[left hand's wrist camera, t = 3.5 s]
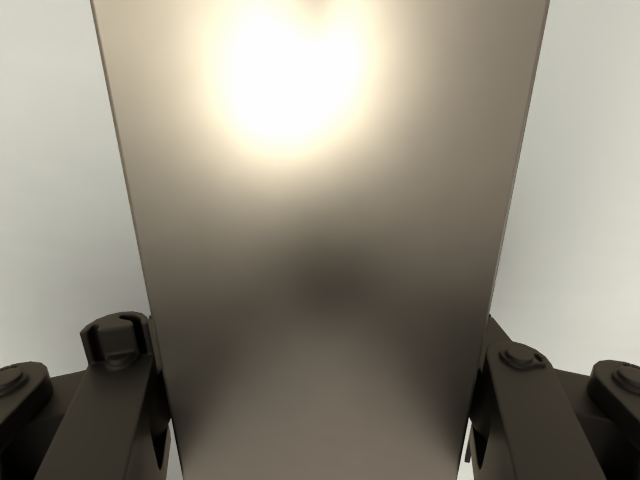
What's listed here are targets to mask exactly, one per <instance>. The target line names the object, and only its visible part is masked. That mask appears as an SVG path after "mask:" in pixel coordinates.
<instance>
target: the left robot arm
mask: <svg viewBox="0 0 640 480" xmlns="http://www.w3.org/2000/svg"><path fill="white" fill-rule="evenodd" d="M80 336H81V339H82V343H83V346H84V350H85V353H86V357H87V360H88V364H89V365H88V367H87V369H86V370H84V371H80V372H76V373H71V374H66V375H61V376H56V377H52V378H50V376H49V373H48V370H47V367H46V366H45V365H43V364H42V363H39V362H24V363H17V364H13V365H10V366H6V367H3V368H1V369H0V480H166V475H167V467H168V459H169V450H170V442H171V436H170V429H169V424H168V423H169V421H170V419H171V414H170V409H169V404H168V398H167V393H166V388H165V383H164V378H163V373H162V368H161V363H160V357H159V352H158V347H157V342H156V337H155V332H154V327H153V321H152V316H151V315H150V316H149V319H147V317H146V316H145V315H143V314H142V313H138V312H119V313H115V314H110V315H107V316H105V317H102V318H99V319H97V320H95V321H93V322H92V323H90V324H89V325H87V326H86V327H85V328H84V329H83V330H82V331H81V332H80ZM469 418H470V420H471V422H472V424H471V429H470V434H469V439H468V444H467V449H466V455H465V462H468V463H470V458H472V466H473V474H474V480H640V367H639V366H636V365H634V364H630V363H626V362H621V361H614V360H604V361H599V362H597V363H596V364H595V365H594V366H593V369H592V372H591V375H590V376H587V375H582V374H577V373H572V372H567V371H562V370H558V369H554V368H553V367H552V364H551V363H550V362H549V361H548V359H547V358H546V357H545V356H544V355H543V354H541V353H540V352H538V351H537V350H535V349H533V348H531V347H529V346H527V345H524V344H521V343H517V342H513V341H512V340H511V339H510V338H509V337H508V336H507V334H506V333H505V332H504V331H503V329H502V328H501V327H500V326H499V325H498V323H497V322H496V321H495V320H494V319H493V317H491V315H490V314H489V316H488V321H487V327H486V332H485V337H484V342H483V347H482V352H481V357H480V362H479V368H478V373H477V378H476V383H475V388H474V393H473V398H472V404H471V409H470V414H469Z"/></svg>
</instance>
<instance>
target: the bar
mask: <svg viewBox="0 0 640 480" xmlns="http://www.w3.org/2000/svg"><path fill="white" fill-rule="evenodd" d="M90 3H91V8H92V13H93V18H94V24H95V29H96V34H97V39H98V44H99V49H100V54H101V60H102V65H103V70H104V75H105V80H106V85H107V90H108V95H109V101H110V106H111V111H112V116H113V121H114V126H115V131H116V137H117V142H118V147H119V152H120V157H121V162H122V167H123V173H124V178H125V183H126V188H127V193H128V198H129V203H130V208H131V214H132V219H133V224H134V229H135V234H136V239H137V244H138V250H139V255H140V260H141V265H142V270H143V275H144V280H145V285H146V291H147V296H148V301H149V306H150V311H151V316H152V321H153V327H154V332H155V337H156V342H157V347H158V352H159V357H160V363H161V368H162V373H163V378H164V383H165V388H166V393H167V398H168V404H169V409H170V414H171V419H172V424H173V429H174V434H175V440H176V445H177V450H178V455H179V460H180V465H181V470H182V476H183V480H457V475H458V470H459V465H460V460H461V455H462V450H463V445H464V440H465V434H466V429H467V424H468V419H469V414H470V409H471V404H472V398H473V393H474V388H475V383H476V378H477V373H478V368H479V362H480V357H481V352H482V347H483V342H484V337H485V332H486V327H487V321H488V316H489V311H490V306H491V301H492V296H493V291H494V285H495V280H496V275H497V270H498V265H499V260H500V255H501V250H502V244H503V239H504V234H505V229H506V224H507V219H508V214H509V208H510V203H511V198H512V193H513V188H514V183H515V178H516V172H517V167H518V162H519V157H520V152H521V147H522V142H523V137H524V131H525V126H526V121H527V116H528V111H529V106H530V101H531V95H532V90H533V85H534V80H535V75H536V70H537V65H538V60H539V54H540V49H541V44H542V39H543V34H544V29H545V24H546V18H547V13H548V8H549V3H550V0H90Z"/></svg>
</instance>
